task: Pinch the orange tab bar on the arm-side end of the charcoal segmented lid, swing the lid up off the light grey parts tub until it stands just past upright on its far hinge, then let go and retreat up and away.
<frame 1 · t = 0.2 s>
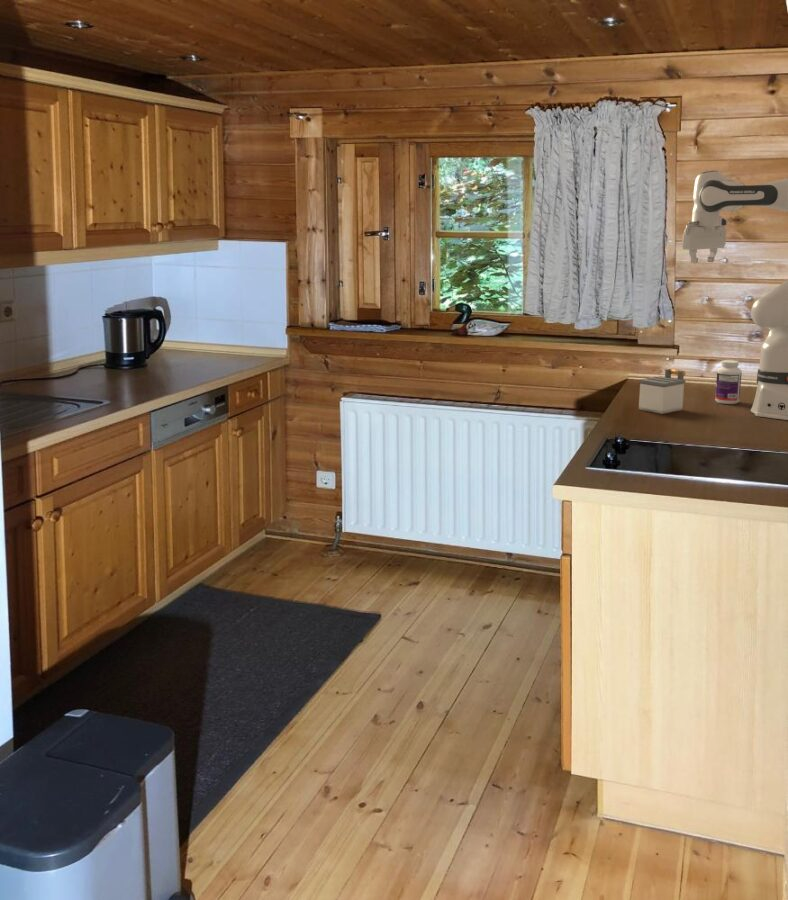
hand: (702, 262, 358), 47 cm above the countertop, fingers open, 8 cm apart
pill bottle: (726, 403, 364), on the countertop
lid: (665, 377, 350), point 11 cm above the countertop, hinge at 0.0°
tub: (660, 409, 352), on the countertop
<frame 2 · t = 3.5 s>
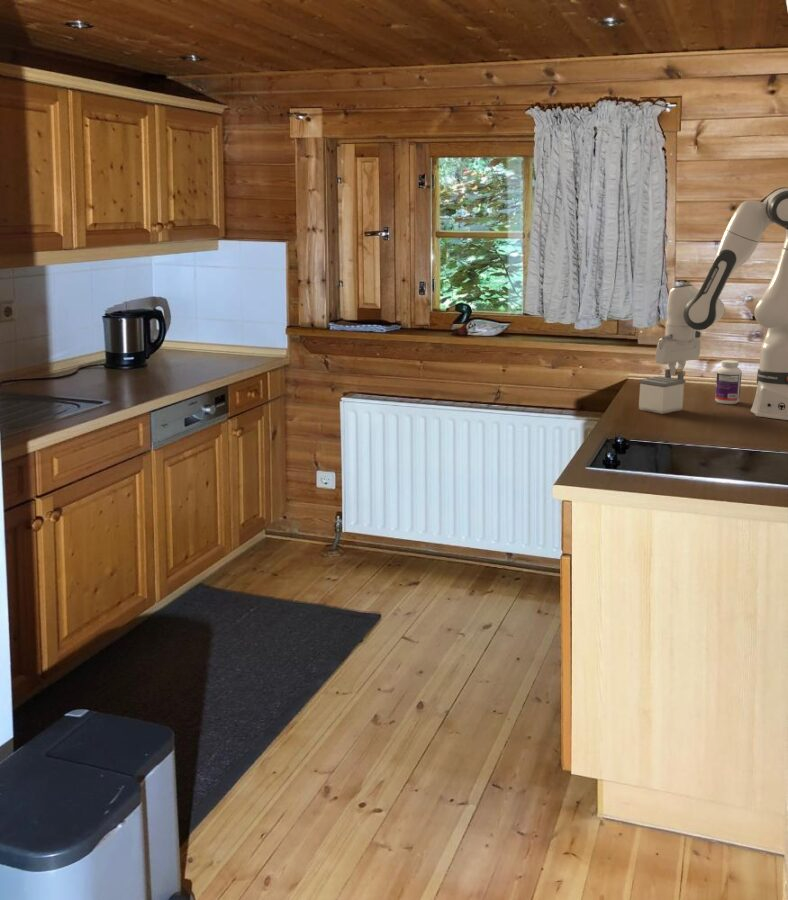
hand: (676, 374, 354), 11 cm above the countertop, fingers closed on lid, 2 cm apart
lid: (665, 377, 350), point 11 cm above the countertop, hinge at 0.0°, touching gripper
everything else where it was.
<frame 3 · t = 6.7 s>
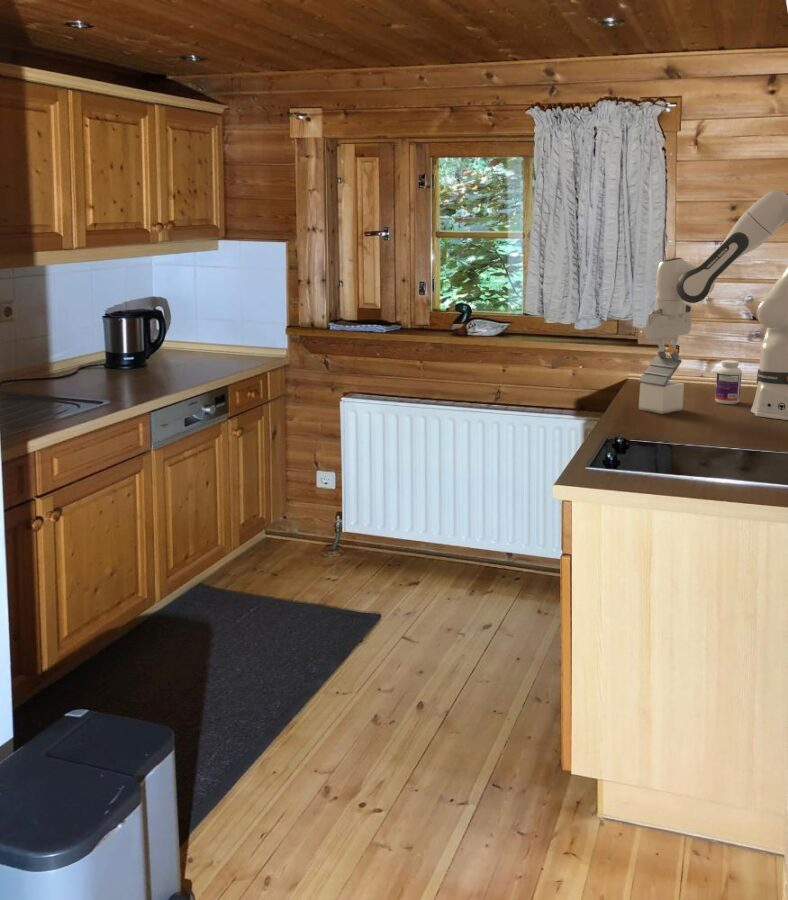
hand: (667, 350, 348), 20 cm above the countertop, fingers open, 4 cm apart
lid: (660, 365, 347), point 15 cm above the countertop, hinge at 41.2°, touching gripper
everything else where it was.
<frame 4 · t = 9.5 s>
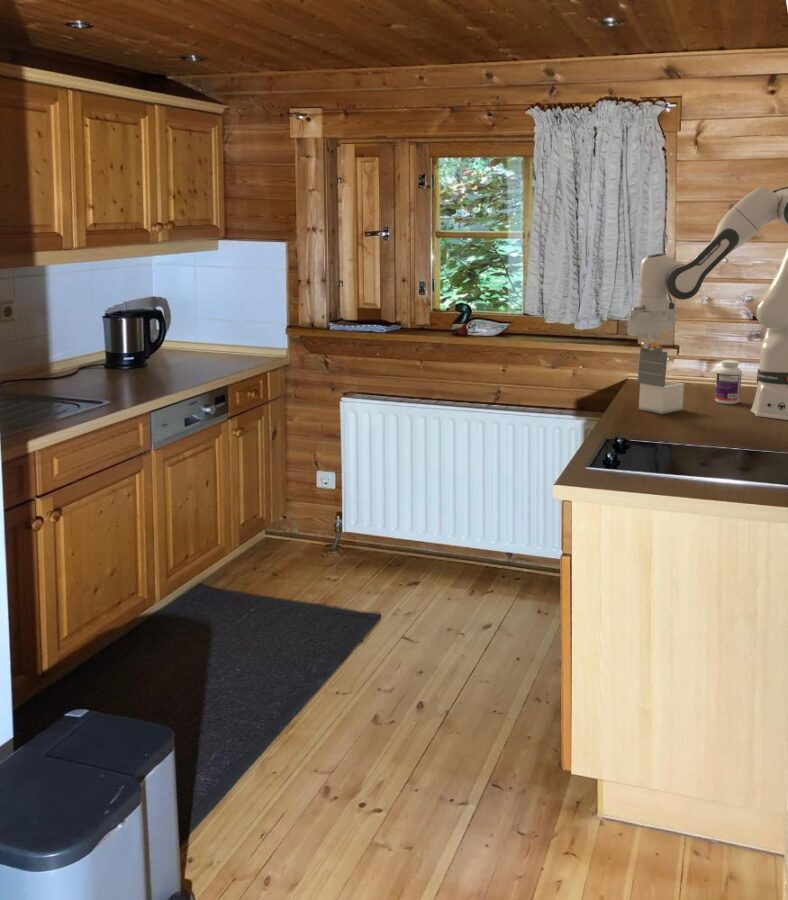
hand: (649, 347, 342), 21 cm above the countertop, fingers closed on lid, 2 cm apart
lid: (650, 364, 344), point 16 cm above the countertop, hinge at 87.8°, touching gripper
everything else where it was.
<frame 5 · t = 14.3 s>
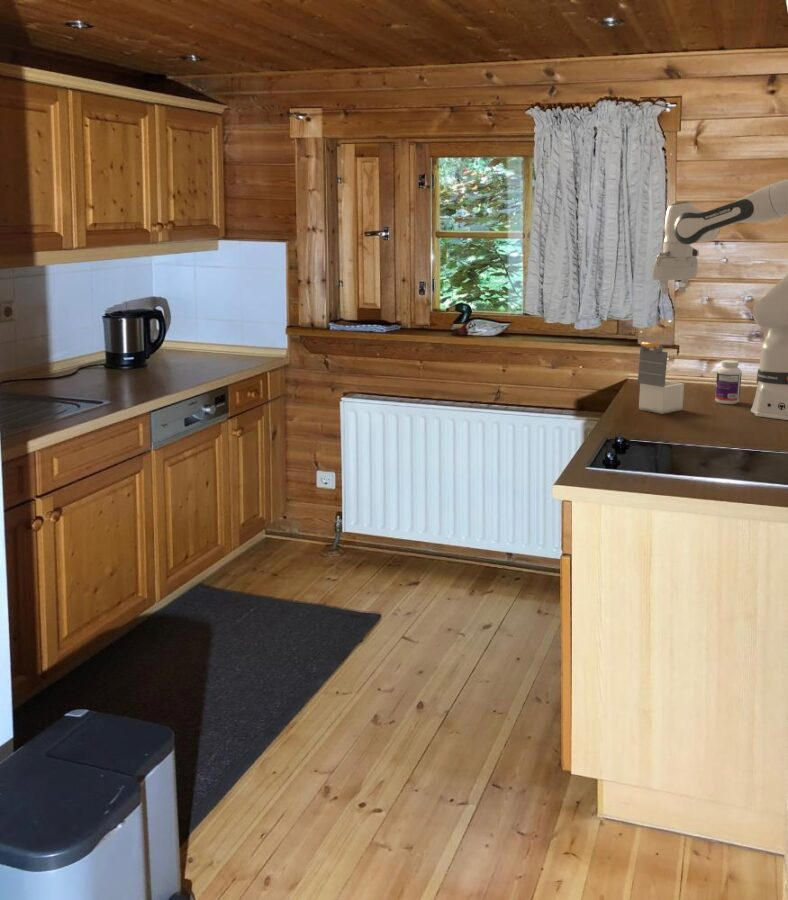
hand: (673, 292, 360), 37 cm above the countertop, fingers open, 8 cm apart
lid: (650, 364, 344), point 16 cm above the countertop, hinge at 87.9°
everything else where it was.
at the end: lid at +88° (first picture: +0°); the gripper is holding nothing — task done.
